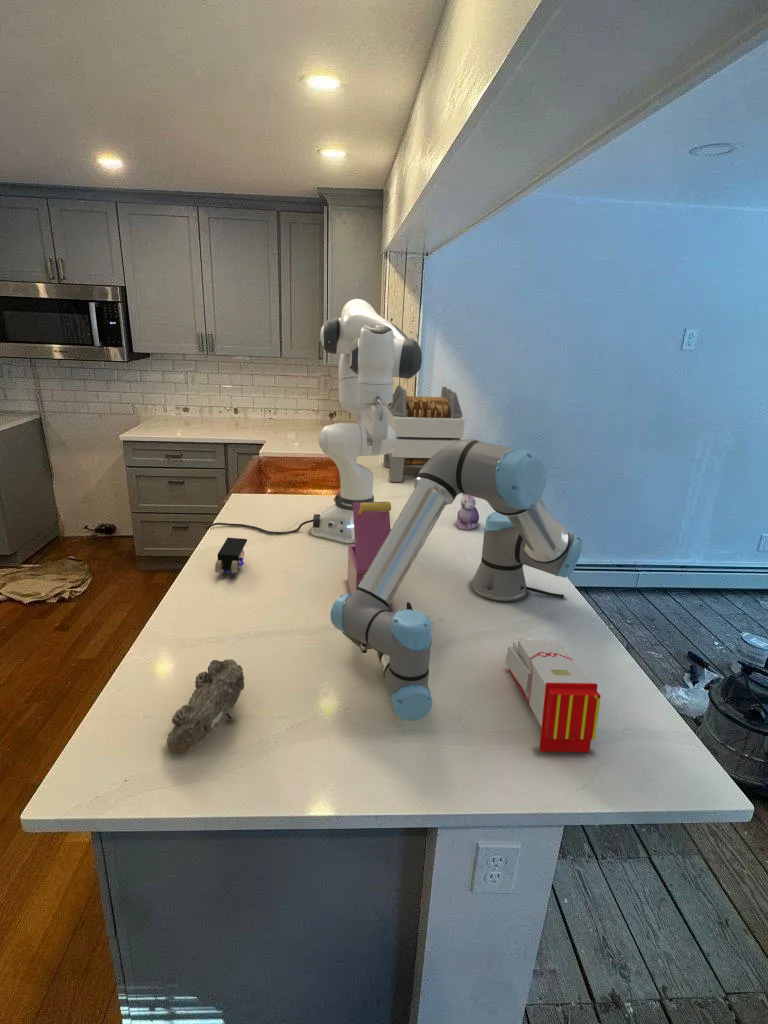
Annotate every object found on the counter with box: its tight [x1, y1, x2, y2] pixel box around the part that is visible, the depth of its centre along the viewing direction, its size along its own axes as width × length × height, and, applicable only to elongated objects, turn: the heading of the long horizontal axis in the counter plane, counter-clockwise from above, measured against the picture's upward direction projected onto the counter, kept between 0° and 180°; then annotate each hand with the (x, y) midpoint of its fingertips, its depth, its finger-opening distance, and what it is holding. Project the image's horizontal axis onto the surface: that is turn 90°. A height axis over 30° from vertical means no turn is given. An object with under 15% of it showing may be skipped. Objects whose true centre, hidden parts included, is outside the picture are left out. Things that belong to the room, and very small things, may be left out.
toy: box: [505, 638, 602, 753], centre depth 114 cm, size 12×13×30 cm
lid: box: [353, 501, 392, 571], centre depth 143 cm, size 18×10×9 cm
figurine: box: [456, 493, 480, 530], centre depth 208 cm, size 9×10×15 cm
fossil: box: [166, 658, 245, 754], centre depth 106 cm, size 22×10×15 cm
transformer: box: [383, 384, 465, 483], centre depth 268 cm, size 34×33×41 cm
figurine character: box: [214, 537, 248, 578], centre depth 166 cm, size 7×8×15 cm
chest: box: [347, 545, 393, 612], centre depth 154 cm, size 18×10×11 cm, turn 10°
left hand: (372, 449), depth 144 cm, fingers open, 8 cm apart
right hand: (380, 608), depth 137 cm, fingers open, 13 cm apart
